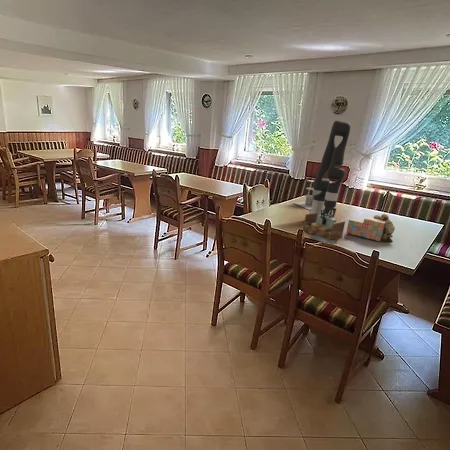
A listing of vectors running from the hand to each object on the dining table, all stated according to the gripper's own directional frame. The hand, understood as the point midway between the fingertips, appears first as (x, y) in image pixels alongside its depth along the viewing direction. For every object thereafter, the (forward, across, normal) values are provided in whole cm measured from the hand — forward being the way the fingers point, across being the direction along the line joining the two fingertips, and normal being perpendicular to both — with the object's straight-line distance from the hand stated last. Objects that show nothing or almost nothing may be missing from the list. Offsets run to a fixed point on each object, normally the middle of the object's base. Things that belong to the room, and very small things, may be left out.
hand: (326, 223), depth 217 cm
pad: (+6, +14, +8) cm, 17 cm away
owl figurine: (+7, -26, +24) cm, 36 cm away
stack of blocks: (+6, -18, +18) cm, 26 cm away
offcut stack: (+5, +4, 0) cm, 7 cm away
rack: (+6, +3, 0) cm, 7 cm away
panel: (+5, 0, 0) cm, 5 cm away
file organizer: (+7, -63, -52) cm, 82 cm away
